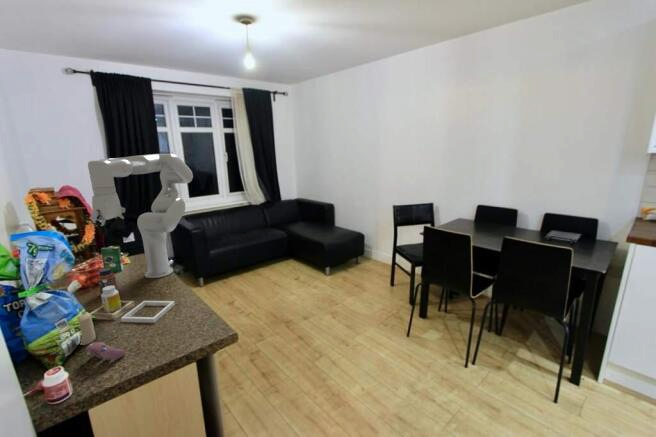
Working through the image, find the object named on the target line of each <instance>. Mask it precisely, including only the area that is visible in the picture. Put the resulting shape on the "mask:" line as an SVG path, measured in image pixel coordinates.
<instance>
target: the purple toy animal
mask: <svg viewBox="0 0 656 437" xmlns="http://www.w3.org/2000/svg"><path fill="white" fill-rule="evenodd" d="M84 351H86V354H87V356H91V355H93V356H95V357H97V358H99V359H103V360H104V361H108V362H110V360H117V359H121V358H122V357H124V356H125V355H126V351H125V350H124V349H119V348H114V347H112V346H109V345H106V343H104V342H94V341H93V342H91V343H89V344H87V346H86V347H85V349H84Z"/></svg>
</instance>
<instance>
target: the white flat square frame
mask: <svg viewBox="0 0 656 437" xmlns="http://www.w3.org/2000/svg"><path fill="white" fill-rule="evenodd" d="M175 305H176V302H175V301H174V300H143V301H142V302H140V303H139V304H138V305H135V306H134V307H133V308H131V309H130V310H129V311H127V312H126V314H125V313H124V314H123V315H122V317H121V316H120V321H121V323H153V324H154V323H156V322H157V321H158V320H160V319H161V318H162V317H163V316H164V315H165V314H166V313H168V312H169V311H170V310H171V309H172V308H173V307H174V306H175ZM146 306H155V307H156V306H157V307H159V306H163V307H164V308H162V309H161V310H160V311H159V312H157V313H156V314H155V315H154V316H150V317H149V316H146V317H145V316H144V317H143V316H133V315H135V314H136V313H137V312H138V311H140V310H141V309H142V308H144V307H146Z"/></svg>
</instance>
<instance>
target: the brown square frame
mask: <svg viewBox="0 0 656 437" xmlns="http://www.w3.org/2000/svg"><path fill="white" fill-rule="evenodd" d="M120 302H121V307H122V308H120V309H119V310H118V311H116V312H115V313H105V312H104V307H103V304H101V306H99V307H98V308H96V309H95V310H93V311H91V312H89V314H92V315H94V316H95V318H98V319H97V320H112V321H113V320H114V321H115V320H116V321H117V319H119V318H121V316H124V315H125V313H128V312H129V311H130V310H132V309H133V308H135V307H136V304H135V300H120Z"/></svg>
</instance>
